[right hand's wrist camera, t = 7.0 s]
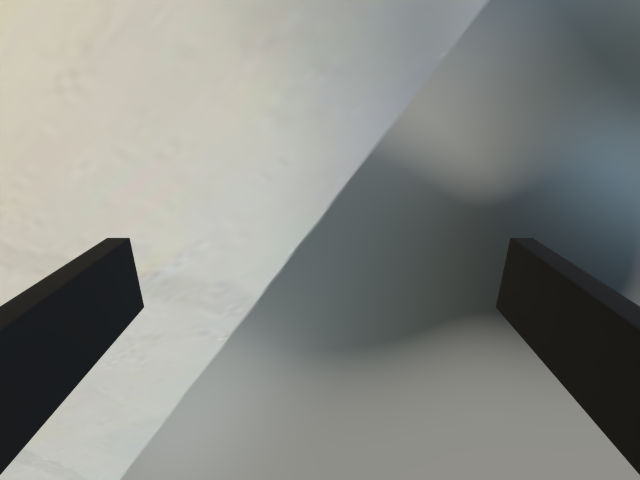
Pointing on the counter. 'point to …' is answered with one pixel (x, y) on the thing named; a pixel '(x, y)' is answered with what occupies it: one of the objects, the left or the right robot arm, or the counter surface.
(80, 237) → the counter surface
